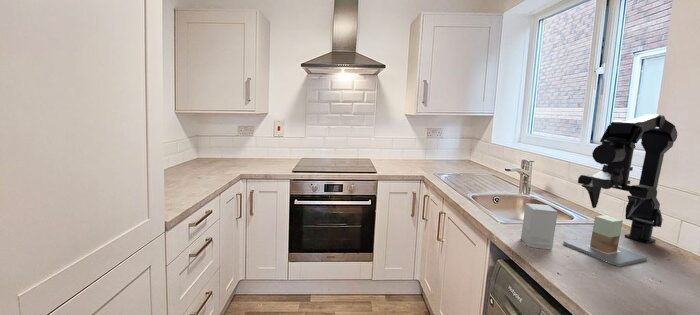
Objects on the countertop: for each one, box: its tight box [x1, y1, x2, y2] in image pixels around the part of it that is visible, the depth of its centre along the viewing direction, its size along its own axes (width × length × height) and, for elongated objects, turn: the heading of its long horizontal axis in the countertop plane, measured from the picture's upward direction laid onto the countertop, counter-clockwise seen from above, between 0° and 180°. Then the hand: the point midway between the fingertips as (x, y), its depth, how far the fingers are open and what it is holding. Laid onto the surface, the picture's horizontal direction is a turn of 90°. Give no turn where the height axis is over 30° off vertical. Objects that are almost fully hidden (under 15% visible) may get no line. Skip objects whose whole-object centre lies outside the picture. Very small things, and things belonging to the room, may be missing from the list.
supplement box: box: [520, 202, 558, 250], centre depth 106 cm, size 7×7×13 cm
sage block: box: [592, 214, 624, 237], centre depth 102 cm, size 5×5×5 cm
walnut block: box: [590, 230, 621, 253], centre depth 102 cm, size 5×5×5 cm
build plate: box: [562, 236, 648, 268], centre depth 103 cm, size 14×16×1 cm
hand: (609, 212), depth 101 cm, fingers open, 9 cm apart
